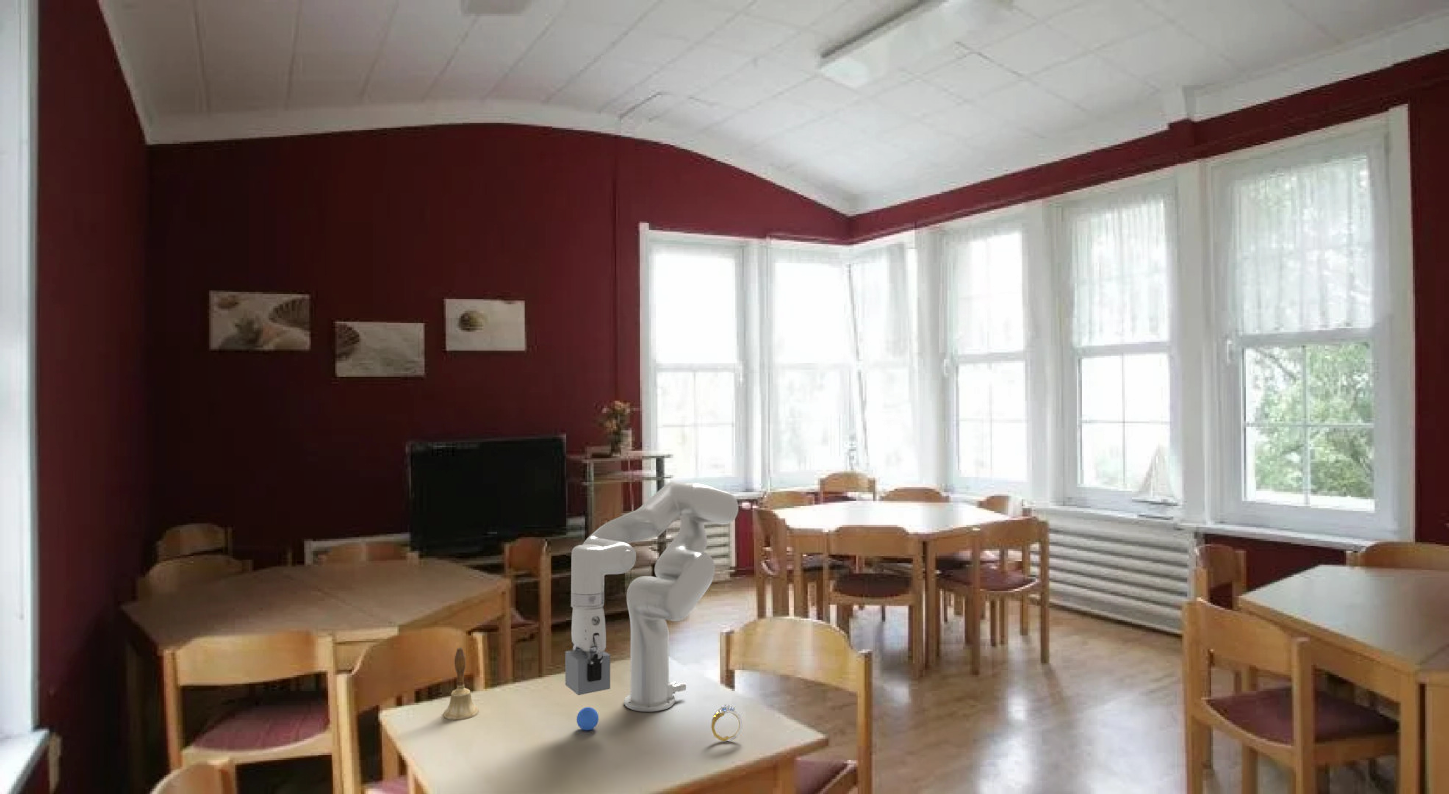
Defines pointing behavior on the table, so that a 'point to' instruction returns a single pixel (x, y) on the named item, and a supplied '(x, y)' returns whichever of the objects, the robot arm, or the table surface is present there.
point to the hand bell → (460, 694)
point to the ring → (724, 711)
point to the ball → (587, 718)
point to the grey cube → (585, 672)
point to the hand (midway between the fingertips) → (586, 675)
